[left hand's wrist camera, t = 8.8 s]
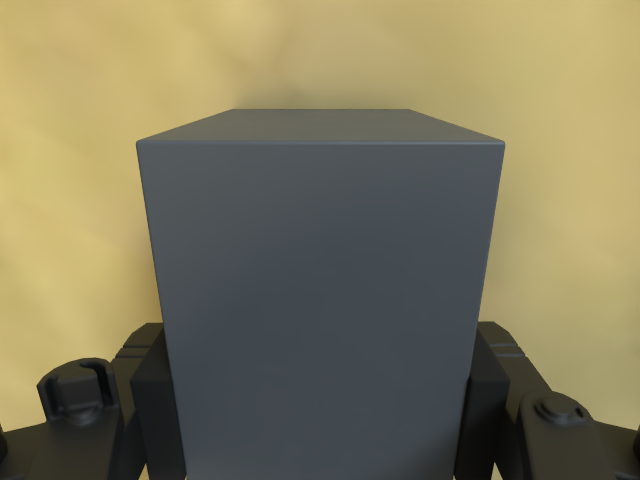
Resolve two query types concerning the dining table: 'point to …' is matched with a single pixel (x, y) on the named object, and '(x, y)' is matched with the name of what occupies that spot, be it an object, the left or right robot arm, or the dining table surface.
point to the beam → (320, 288)
